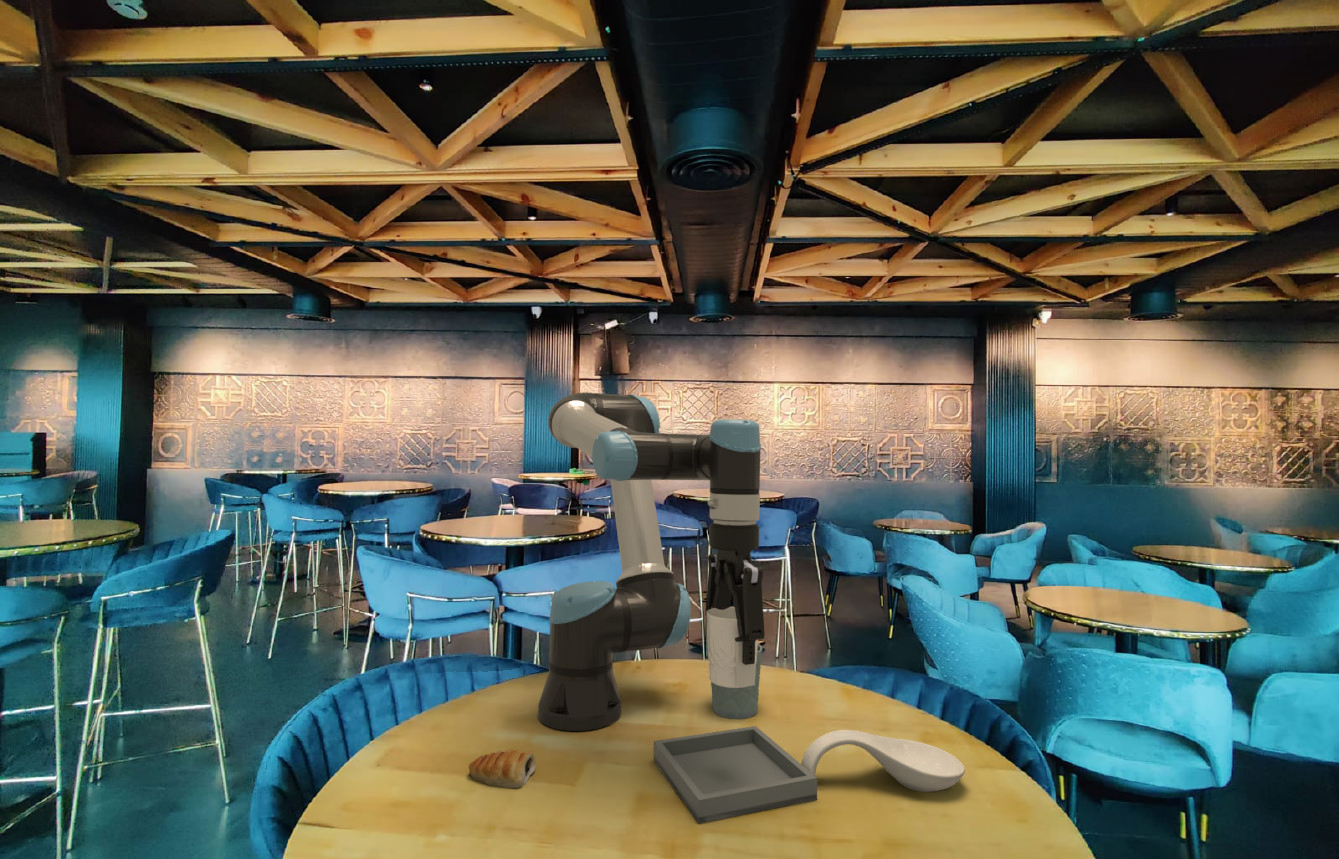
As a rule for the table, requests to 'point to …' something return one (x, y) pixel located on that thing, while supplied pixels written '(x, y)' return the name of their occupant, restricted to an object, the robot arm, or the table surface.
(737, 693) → the grey-green cup
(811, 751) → the spoon rest
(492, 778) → the pastry
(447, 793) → the table surface
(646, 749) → the table surface
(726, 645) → the white cup
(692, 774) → the tray
